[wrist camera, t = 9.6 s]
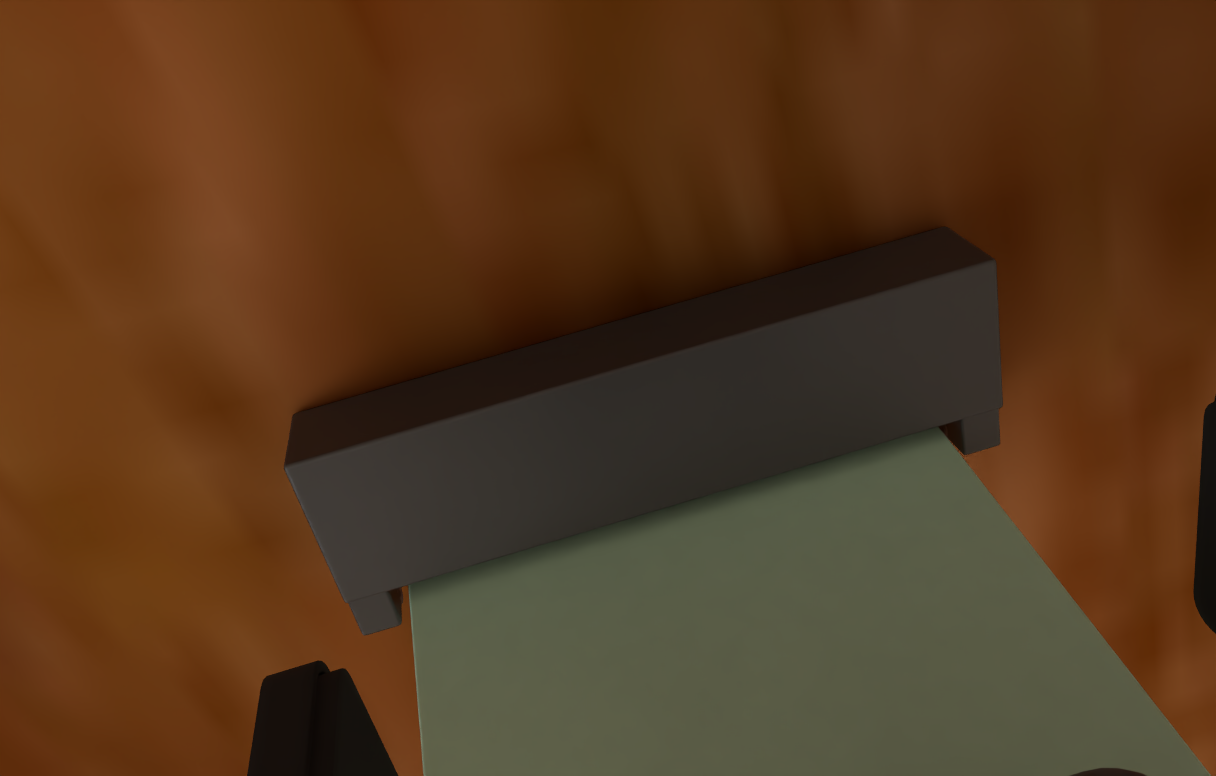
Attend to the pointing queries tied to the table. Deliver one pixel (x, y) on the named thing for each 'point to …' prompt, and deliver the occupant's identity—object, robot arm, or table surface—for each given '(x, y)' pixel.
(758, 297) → the sign foot
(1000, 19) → the table surface
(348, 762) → the robot arm
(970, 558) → the sign
